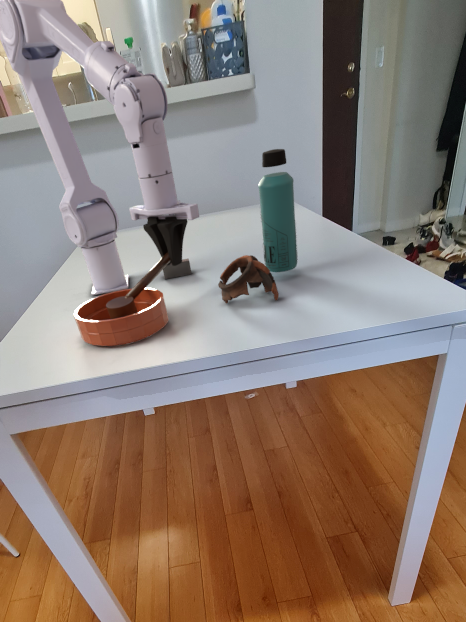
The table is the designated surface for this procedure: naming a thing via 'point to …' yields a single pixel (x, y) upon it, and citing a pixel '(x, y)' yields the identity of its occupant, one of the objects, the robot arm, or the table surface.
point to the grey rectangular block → (177, 270)
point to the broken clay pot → (246, 278)
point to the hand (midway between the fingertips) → (173, 264)
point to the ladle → (135, 292)
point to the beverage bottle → (278, 215)
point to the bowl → (121, 319)
